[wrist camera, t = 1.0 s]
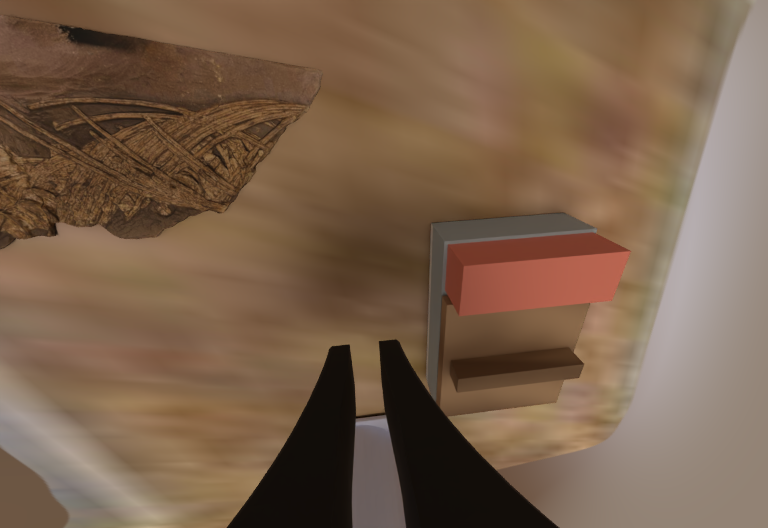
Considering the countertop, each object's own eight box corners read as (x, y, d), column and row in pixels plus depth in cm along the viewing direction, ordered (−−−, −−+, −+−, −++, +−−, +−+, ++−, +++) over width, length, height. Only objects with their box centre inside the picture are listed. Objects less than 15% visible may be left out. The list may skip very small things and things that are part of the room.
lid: (548, 391, 23) (569, 420, 21) (435, 405, 23) (445, 437, 20) (582, 282, 19) (614, 305, 16) (442, 295, 18) (455, 321, 16)
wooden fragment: (-97, 269, 17) (-123, 278, 16) (-331, 35, 12) (-389, 28, 11) (344, 206, 18) (344, 211, 17) (302, -31, 13) (298, -42, 12)
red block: (579, 276, 19) (612, 300, 16) (444, 289, 18) (459, 316, 16) (593, 232, 17) (630, 251, 15) (447, 244, 17) (463, 266, 14)
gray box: (526, 365, 26) (545, 394, 24) (426, 377, 26) (434, 407, 23) (563, 212, 20) (597, 228, 17) (430, 223, 19) (444, 241, 16)
